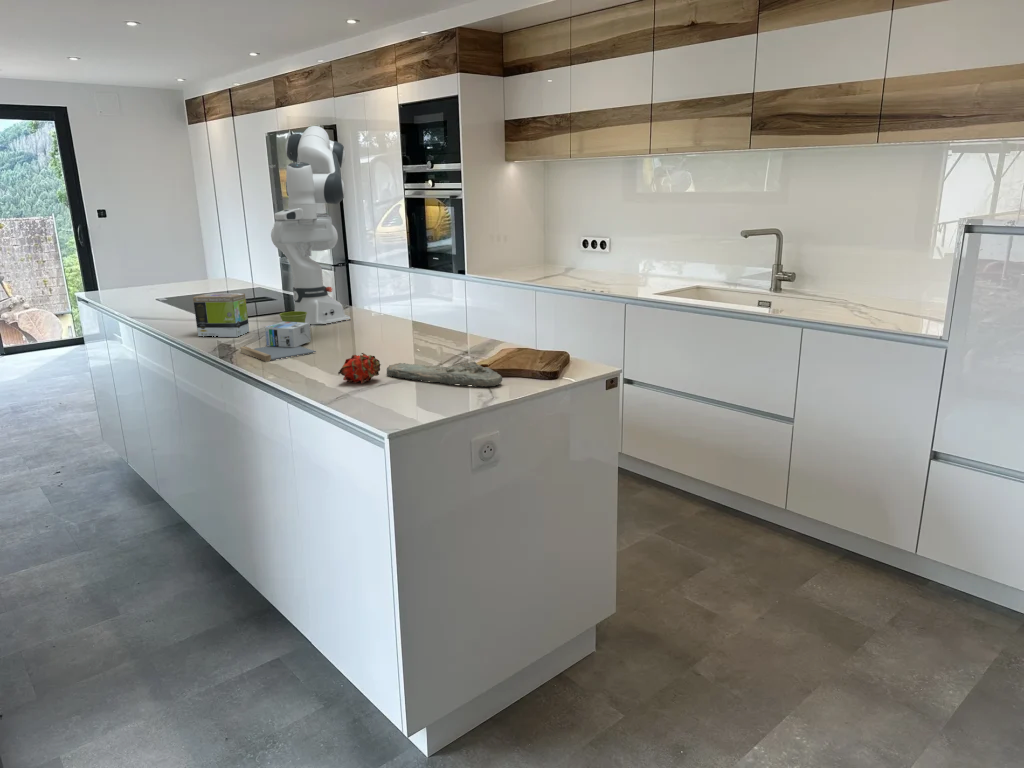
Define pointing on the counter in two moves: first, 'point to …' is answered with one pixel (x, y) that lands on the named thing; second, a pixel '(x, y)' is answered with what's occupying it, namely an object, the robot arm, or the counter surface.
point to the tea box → (221, 314)
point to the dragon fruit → (360, 368)
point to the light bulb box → (287, 334)
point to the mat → (284, 351)
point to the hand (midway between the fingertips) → (306, 256)
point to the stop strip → (256, 353)
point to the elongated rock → (447, 374)
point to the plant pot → (293, 316)
